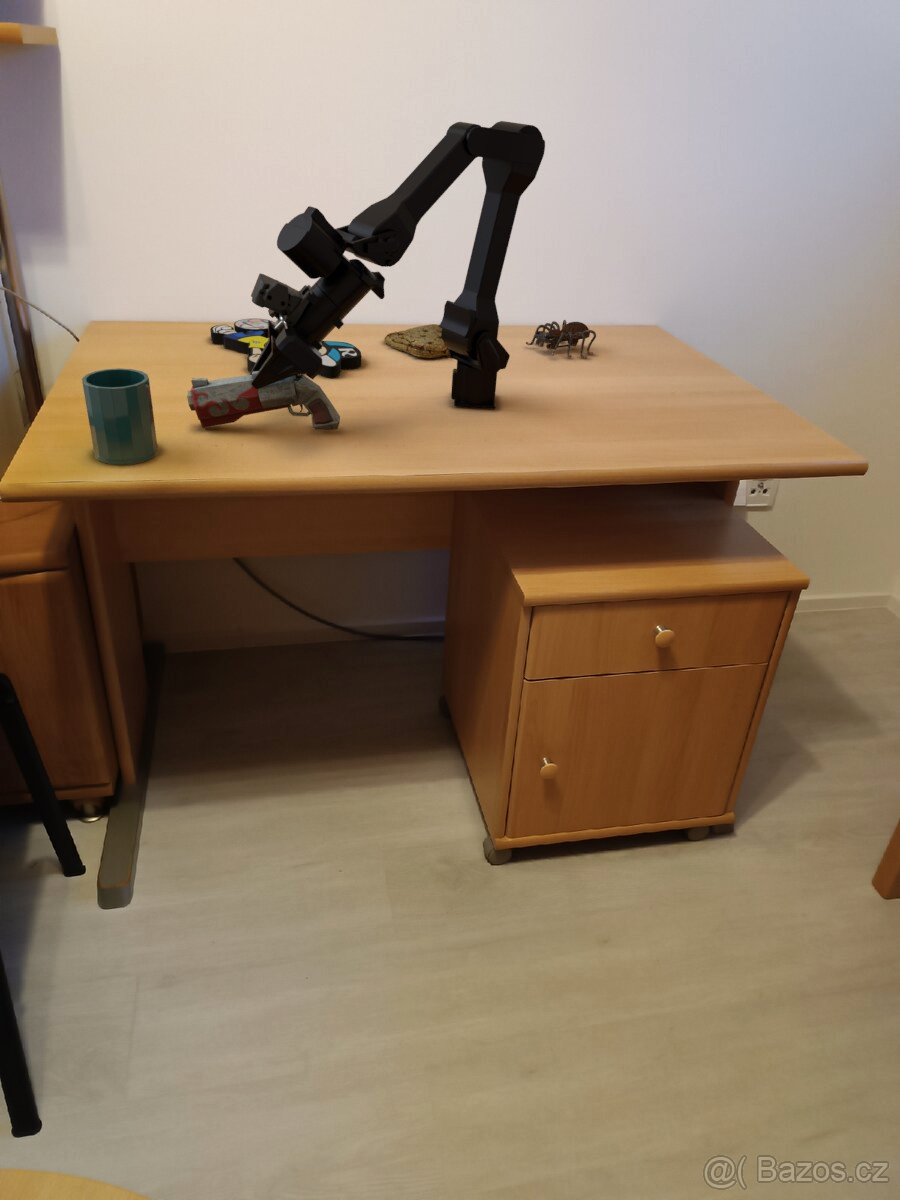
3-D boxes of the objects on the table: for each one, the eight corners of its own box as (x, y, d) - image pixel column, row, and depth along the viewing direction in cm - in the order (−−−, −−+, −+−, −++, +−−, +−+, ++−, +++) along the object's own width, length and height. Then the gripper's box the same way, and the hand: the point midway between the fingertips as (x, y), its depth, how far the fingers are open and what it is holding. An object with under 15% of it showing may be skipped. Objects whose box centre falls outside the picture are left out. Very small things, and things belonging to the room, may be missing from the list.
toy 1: (163, 367, 145) (337, 389, 141) (161, 355, 144) (337, 377, 140) (232, 325, 168) (383, 343, 164) (231, 315, 167) (383, 332, 163)
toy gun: (207, 441, 127) (186, 375, 122) (341, 420, 127) (327, 353, 122) (202, 454, 124) (180, 386, 118) (340, 432, 123) (325, 363, 118)
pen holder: (165, 443, 118) (156, 370, 113) (147, 466, 112) (137, 390, 106) (106, 440, 118) (95, 366, 113) (85, 463, 112) (72, 386, 106)
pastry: (480, 339, 171) (482, 323, 169) (469, 365, 156) (470, 348, 154) (393, 330, 172) (393, 314, 171) (374, 355, 158) (374, 338, 156)
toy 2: (517, 345, 169) (519, 318, 166) (564, 338, 174) (567, 313, 172) (557, 363, 160) (561, 335, 157) (606, 355, 166) (610, 329, 163)
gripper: (280, 239, 121) (205, 322, 124) (292, 269, 105) (206, 362, 109) (339, 297, 127) (266, 375, 130) (357, 334, 111) (274, 421, 115)
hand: (253, 381), depth 121 cm, fingers closed on toy gun, 3 cm apart
